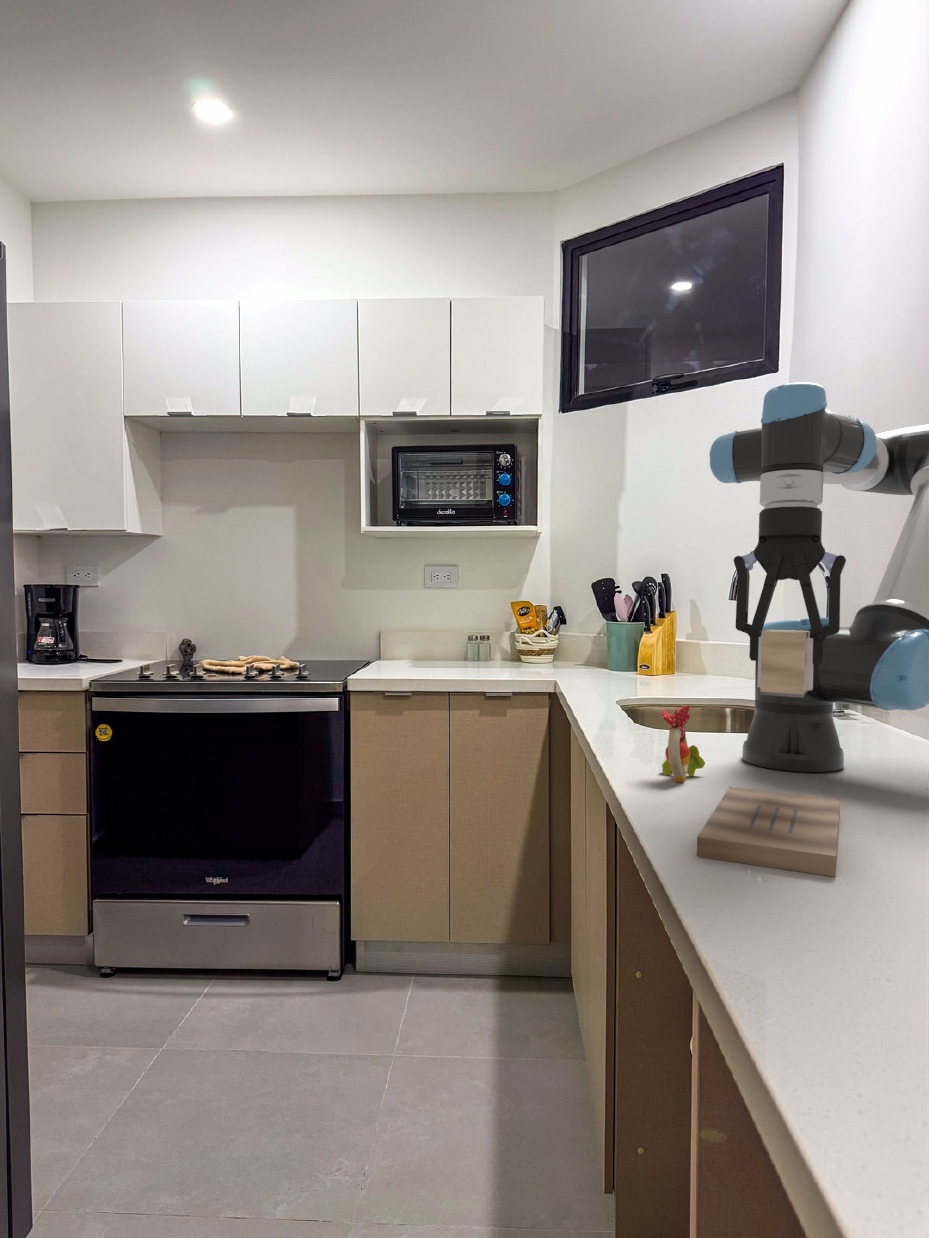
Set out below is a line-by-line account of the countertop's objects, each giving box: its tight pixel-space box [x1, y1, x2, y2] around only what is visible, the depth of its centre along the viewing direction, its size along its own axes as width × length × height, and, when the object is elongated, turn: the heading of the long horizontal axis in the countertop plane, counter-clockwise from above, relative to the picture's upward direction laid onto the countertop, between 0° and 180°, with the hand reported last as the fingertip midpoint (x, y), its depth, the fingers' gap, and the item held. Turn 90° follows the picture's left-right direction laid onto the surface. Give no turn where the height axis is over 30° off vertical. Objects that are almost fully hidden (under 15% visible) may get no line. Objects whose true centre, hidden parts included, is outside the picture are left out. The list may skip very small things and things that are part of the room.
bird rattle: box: [660, 704, 706, 783], centre depth 117 cm, size 6×11×9 cm
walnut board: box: [696, 786, 841, 878], centre depth 90 cm, size 24×13×2 cm, turn 154°
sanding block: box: [760, 630, 810, 698], centre depth 104 cm, size 9×5×8 cm, turn 153°
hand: (784, 687), depth 104 cm, fingers closed on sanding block, 5 cm apart
